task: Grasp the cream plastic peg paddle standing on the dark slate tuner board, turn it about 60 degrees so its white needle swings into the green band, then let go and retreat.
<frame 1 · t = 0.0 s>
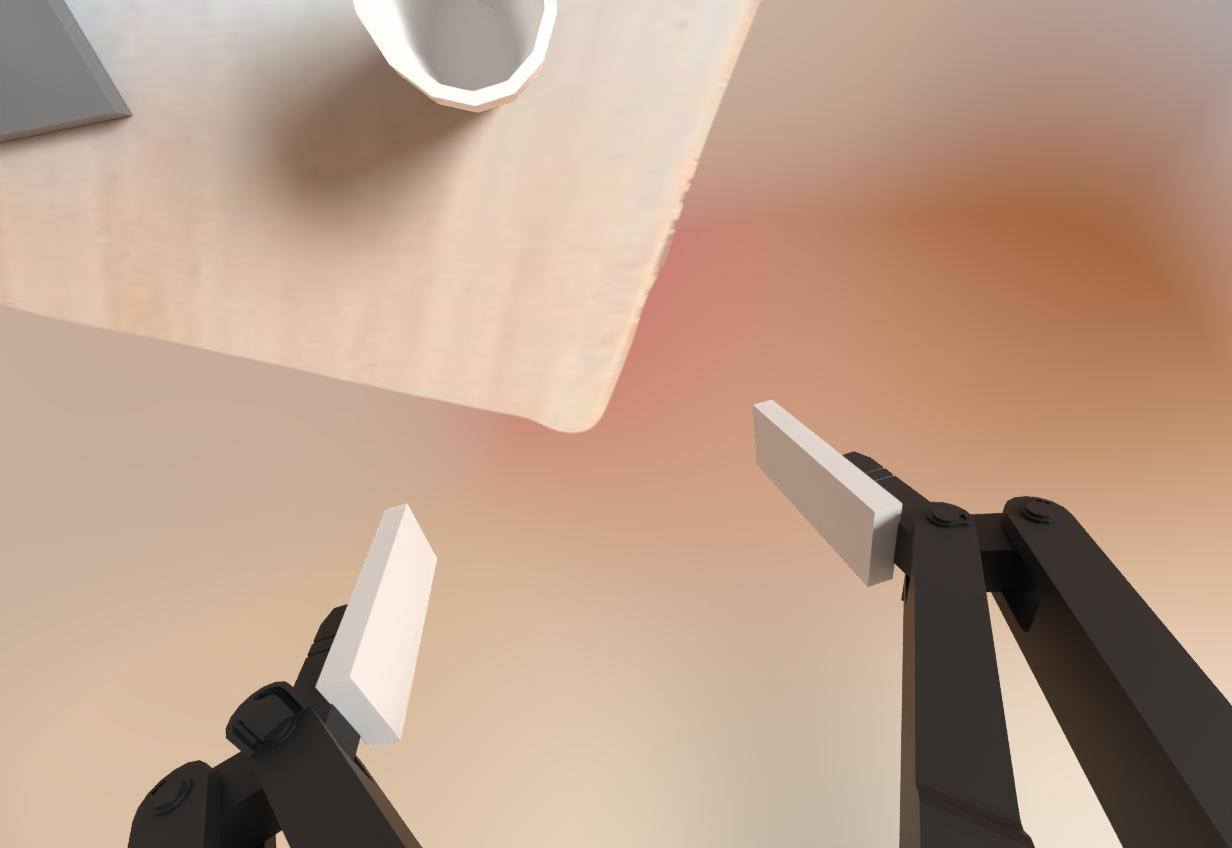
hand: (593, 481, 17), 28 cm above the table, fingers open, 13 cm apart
foam cup: (474, 56, 33), on the table
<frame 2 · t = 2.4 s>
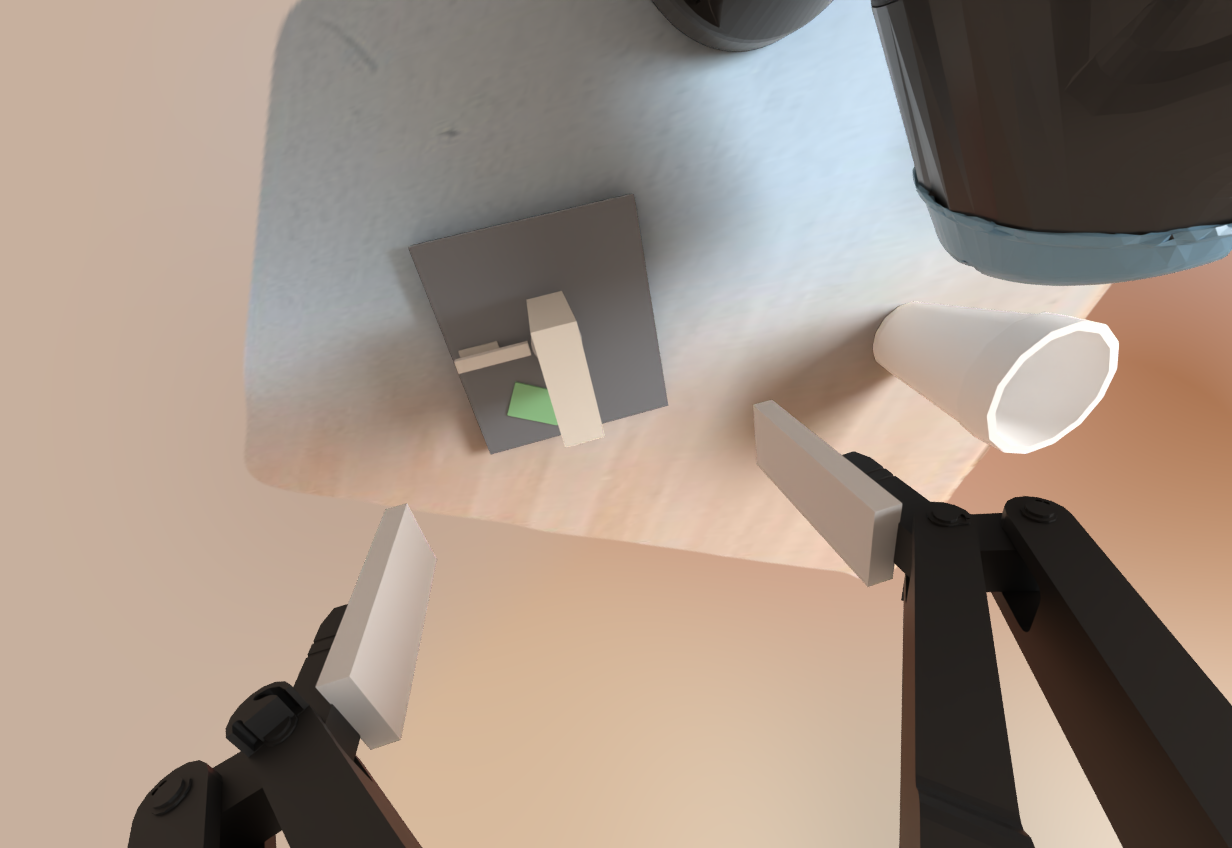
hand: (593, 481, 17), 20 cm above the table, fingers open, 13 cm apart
peg knob: (520, 369, 29), point 6 cm above the table, hinge at 0.0°
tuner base: (553, 331, 35), on the table
foam cup: (902, 336, 42), on the table
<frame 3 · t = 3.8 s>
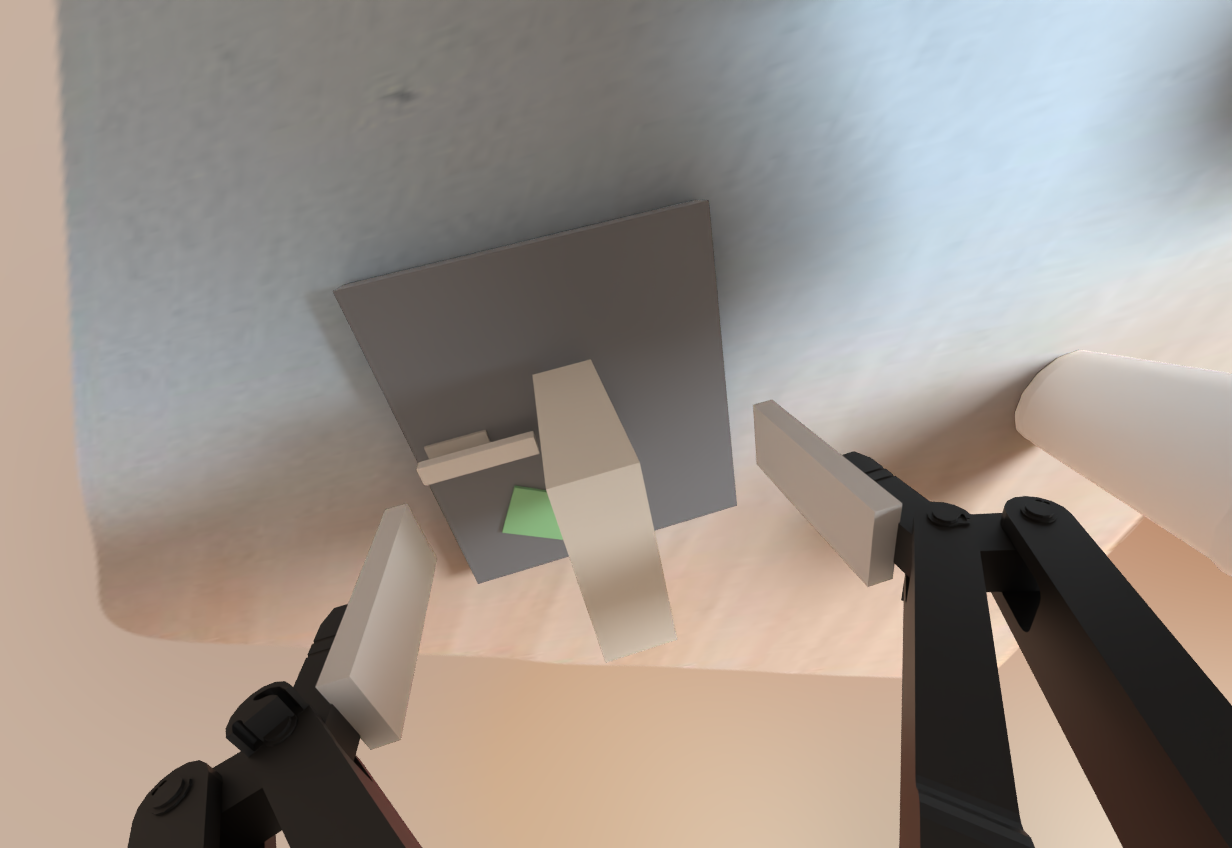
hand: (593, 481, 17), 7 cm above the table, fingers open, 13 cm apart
peg knob: (523, 498, 17), point 6 cm above the table, hinge at 0.0°
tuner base: (572, 407, 23), on the table
foam cup: (1055, 395, 30), on the table
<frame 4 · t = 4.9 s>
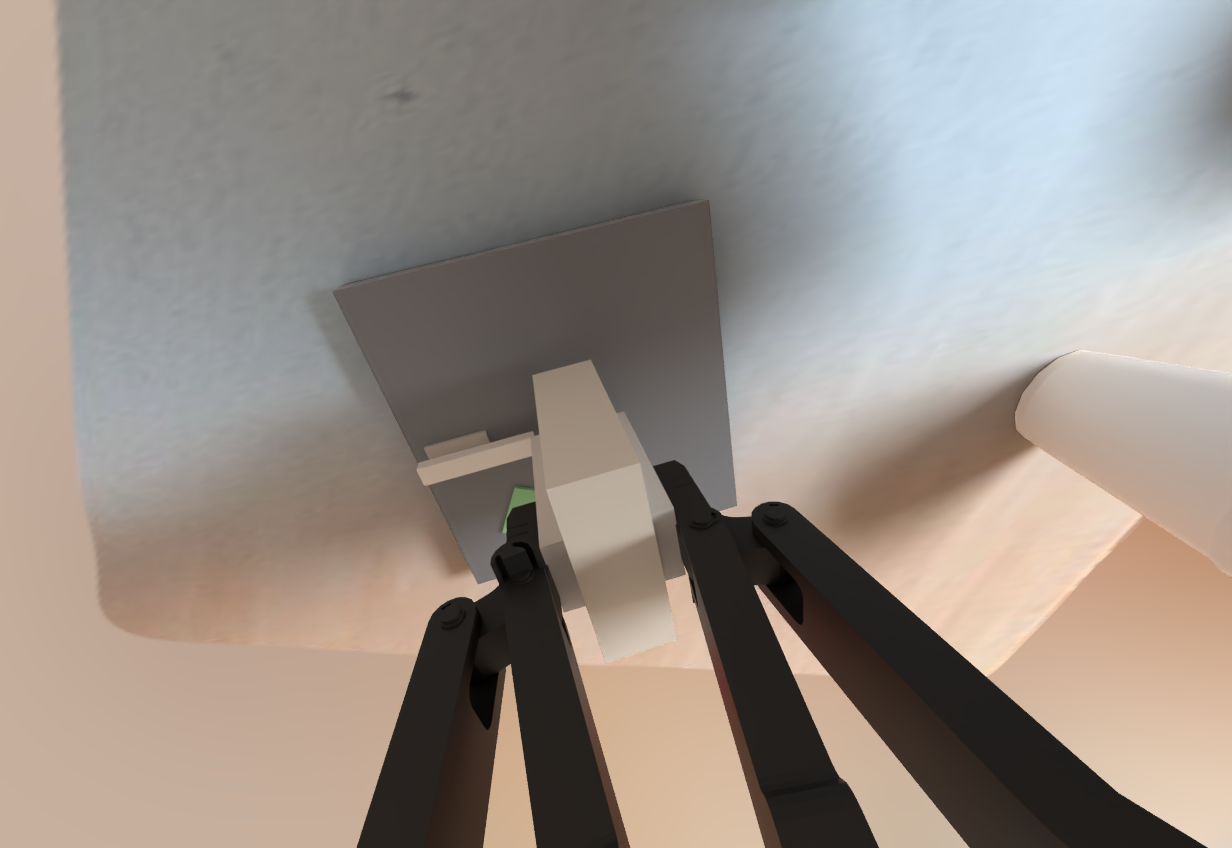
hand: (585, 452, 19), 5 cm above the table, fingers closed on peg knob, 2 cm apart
peg knob: (523, 498, 17), point 7 cm above the table, hinge at 0.0°, touching gripper
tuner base: (572, 407, 23), on the table
foam cup: (1055, 395, 30), on the table
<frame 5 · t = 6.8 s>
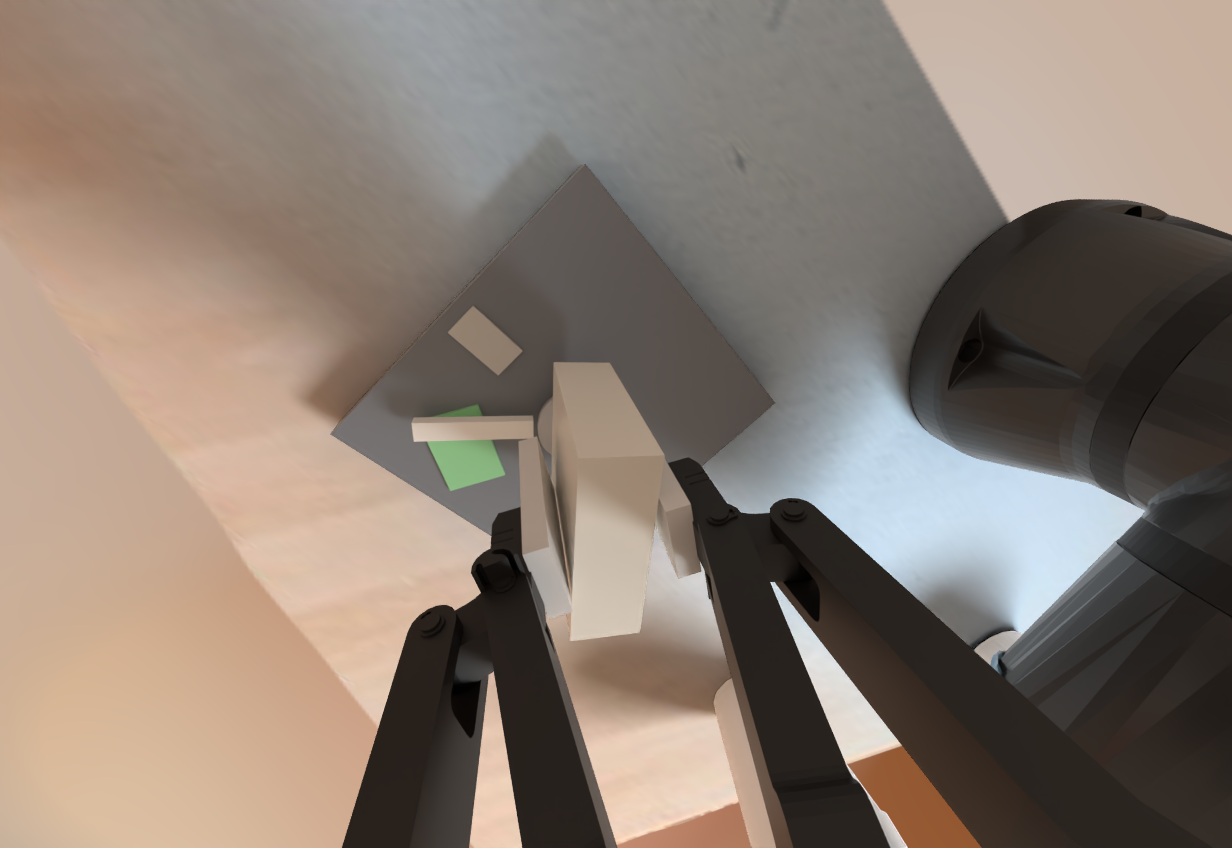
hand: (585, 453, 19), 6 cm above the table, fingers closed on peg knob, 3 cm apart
cup: (987, 648, 45), on the table
peg knob: (519, 473, 18), point 7 cm above the table, hinge at 43.6°, touching gripper
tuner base: (569, 404, 24), on the table
foam cup: (746, 690, 39), on the table
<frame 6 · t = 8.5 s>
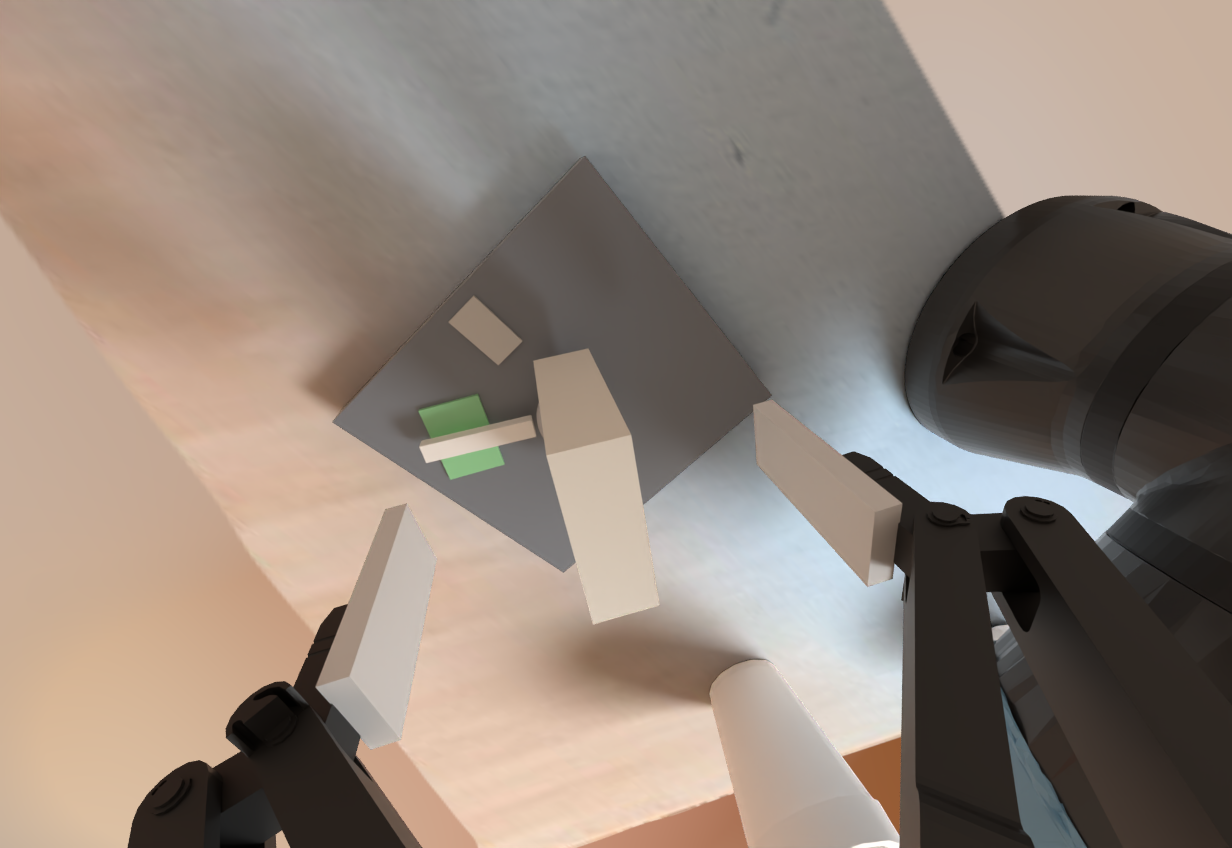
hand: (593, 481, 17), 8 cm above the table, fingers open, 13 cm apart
peg knob: (521, 474, 18), point 6 cm above the table, hinge at 57.7°
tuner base: (568, 395, 24), on the table
foam cup: (742, 682, 40), on the table
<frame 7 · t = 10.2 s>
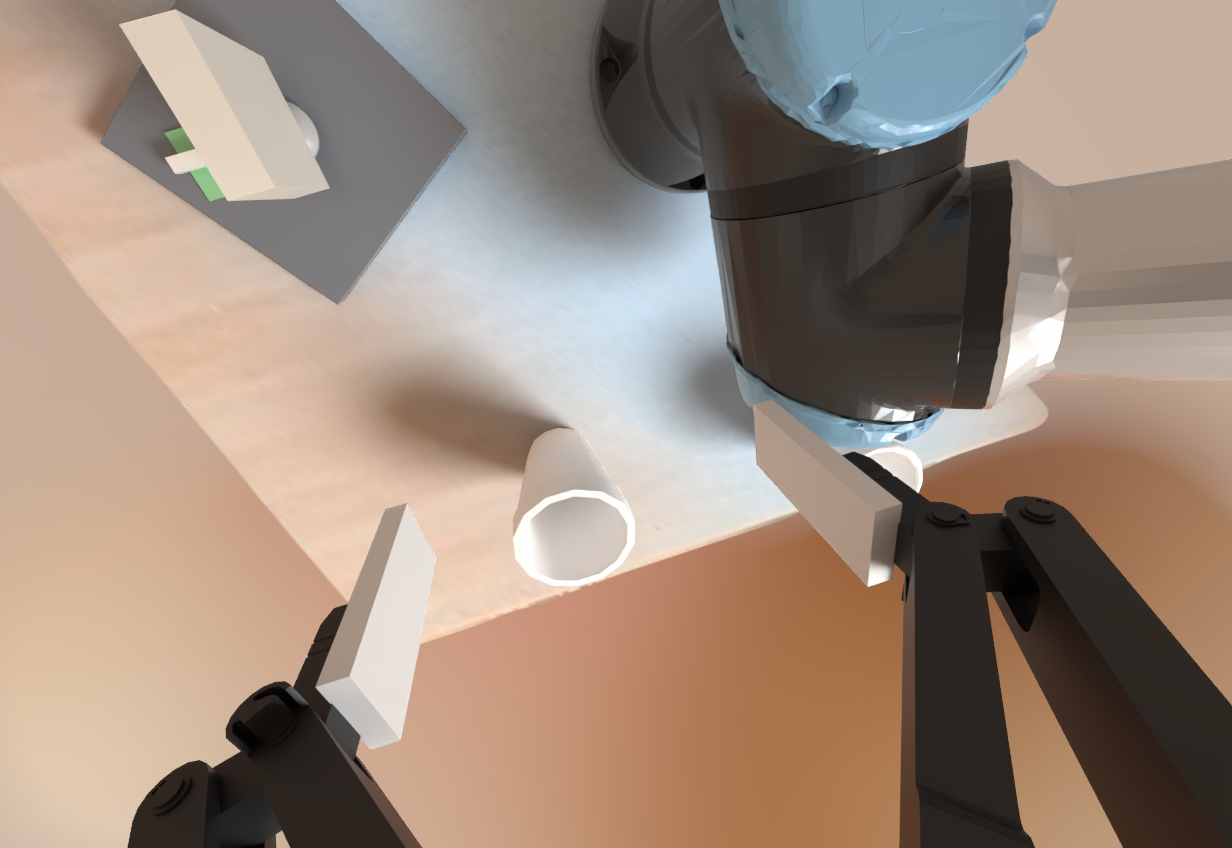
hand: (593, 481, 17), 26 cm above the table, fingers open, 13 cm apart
cup: (789, 427, 51), on the table
peg knob: (207, 139, 25), point 7 cm above the table, hinge at 58.5°
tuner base: (302, 137, 31), on the table
foam cup: (560, 454, 47), on the table
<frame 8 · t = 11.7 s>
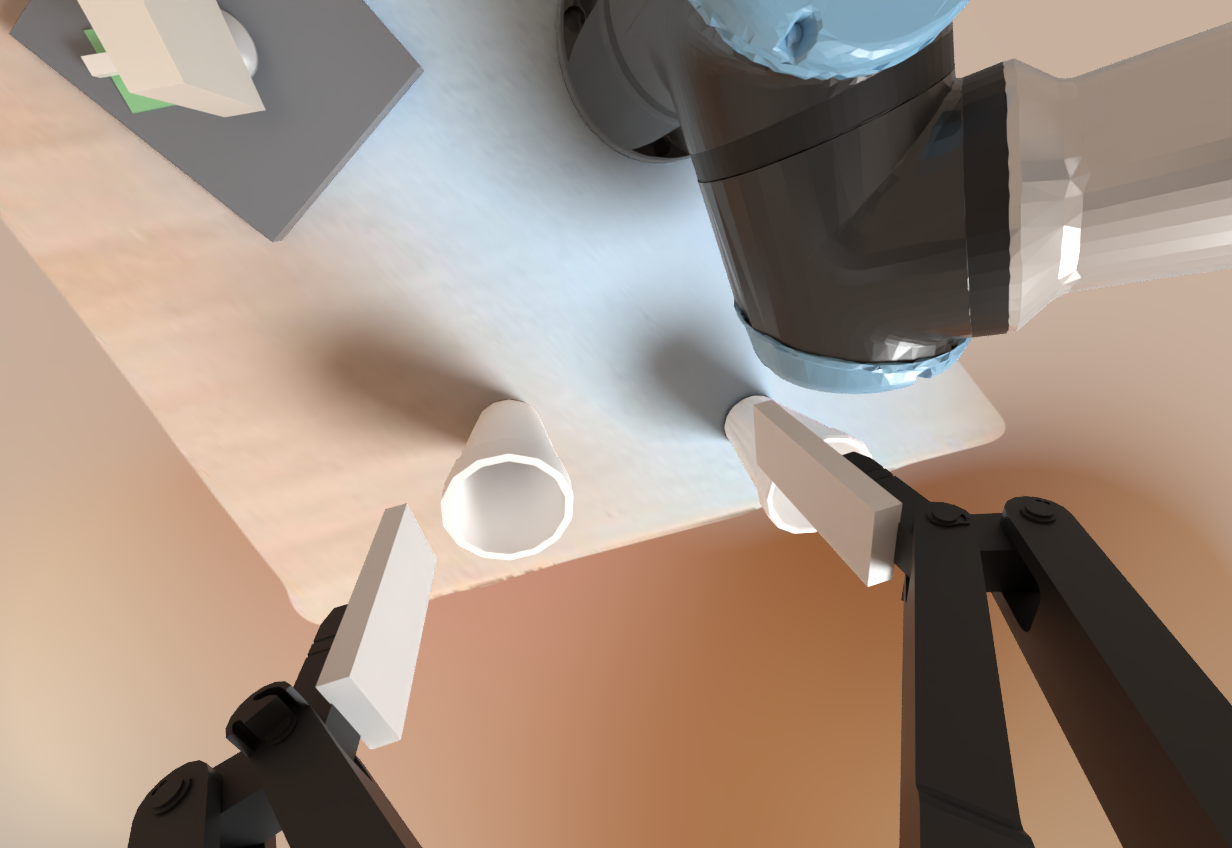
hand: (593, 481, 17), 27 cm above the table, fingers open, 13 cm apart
cup: (749, 419, 50), on the table
peg knob: (122, 33, 23), point 6 cm above the table, hinge at 58.6°
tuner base: (242, 57, 29), on the table
foam cup: (509, 428, 45), on the table
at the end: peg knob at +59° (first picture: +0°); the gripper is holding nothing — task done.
